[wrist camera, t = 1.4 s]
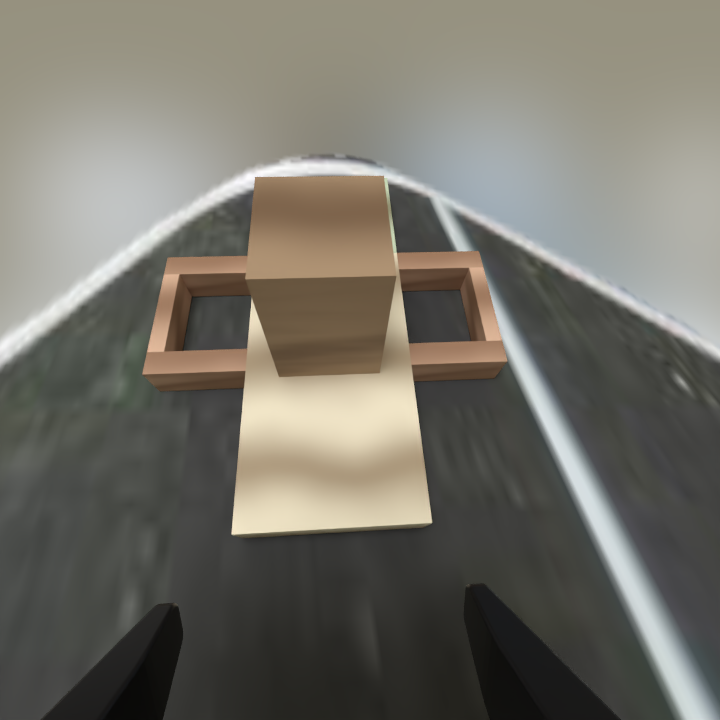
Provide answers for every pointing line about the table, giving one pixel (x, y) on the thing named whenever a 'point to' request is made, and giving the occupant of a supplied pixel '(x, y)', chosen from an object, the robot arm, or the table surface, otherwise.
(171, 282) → the track
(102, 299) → the table surface
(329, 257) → the walnut block
